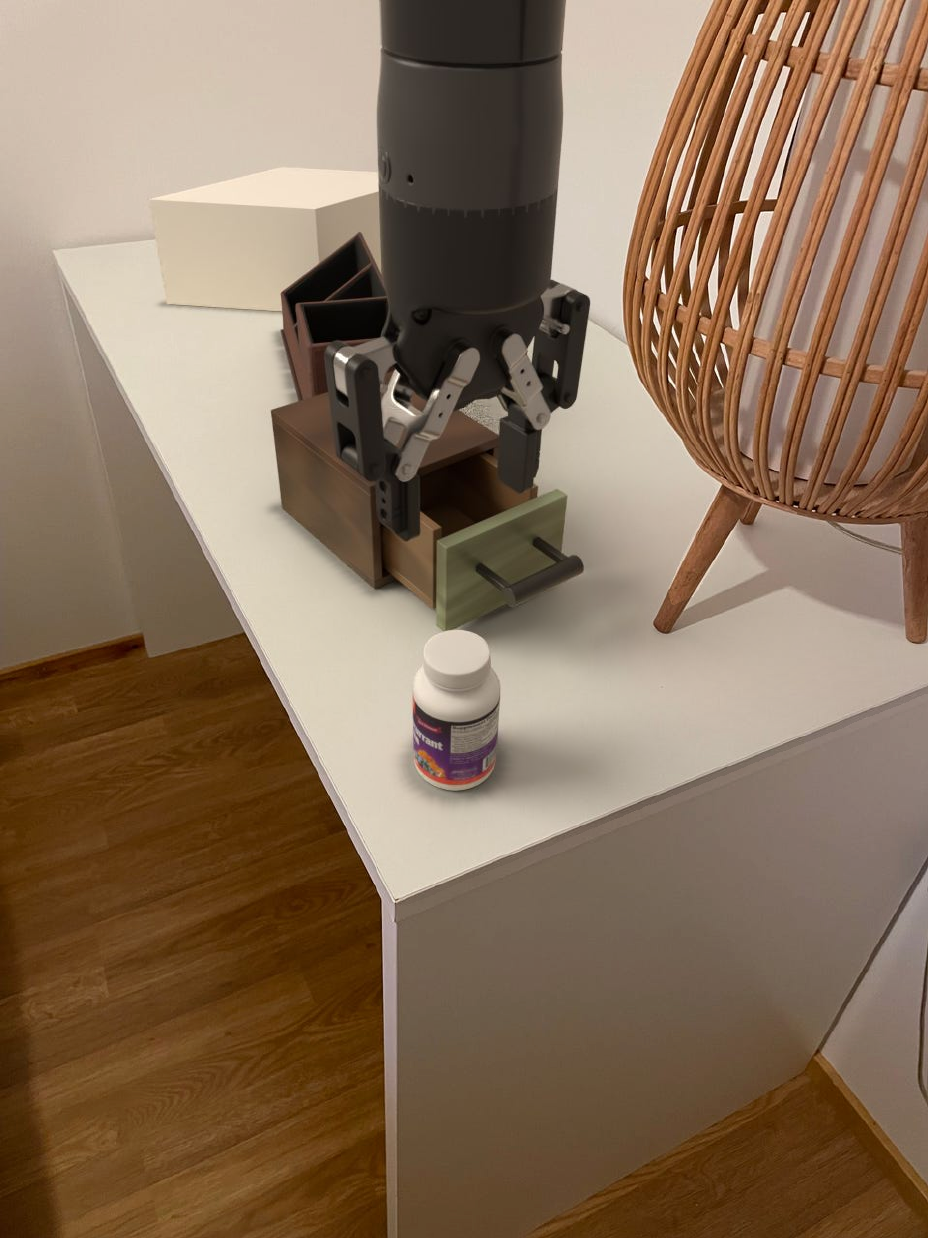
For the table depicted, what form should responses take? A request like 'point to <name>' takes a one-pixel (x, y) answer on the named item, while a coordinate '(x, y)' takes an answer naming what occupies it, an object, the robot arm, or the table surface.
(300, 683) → the table surface
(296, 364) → the desk organizer
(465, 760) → the pill bottle
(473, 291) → the robot arm
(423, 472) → the cabinet
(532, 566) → the drawer
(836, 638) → the table surface
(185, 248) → the block
